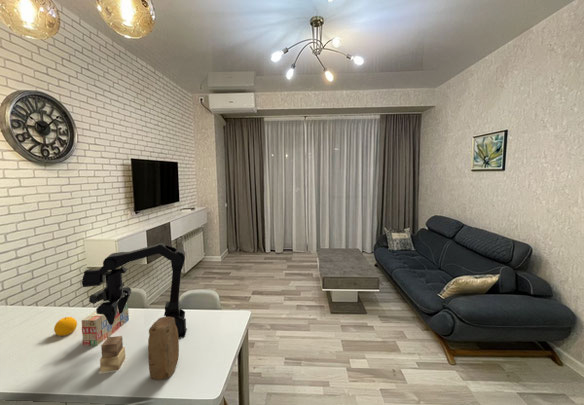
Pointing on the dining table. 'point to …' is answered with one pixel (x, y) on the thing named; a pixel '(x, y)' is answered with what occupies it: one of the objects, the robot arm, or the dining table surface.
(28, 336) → the dining table surface
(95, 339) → the stack of blocks
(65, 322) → the orange
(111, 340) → the walnut cube
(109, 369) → the oak base block
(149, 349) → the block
